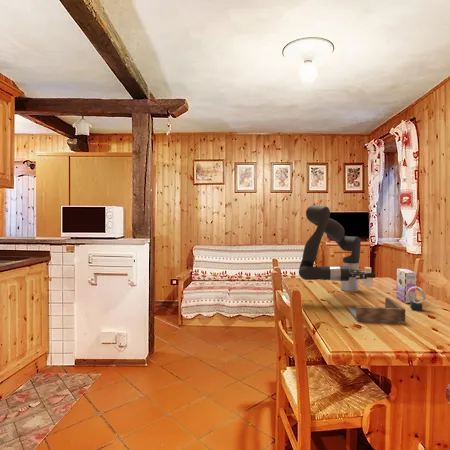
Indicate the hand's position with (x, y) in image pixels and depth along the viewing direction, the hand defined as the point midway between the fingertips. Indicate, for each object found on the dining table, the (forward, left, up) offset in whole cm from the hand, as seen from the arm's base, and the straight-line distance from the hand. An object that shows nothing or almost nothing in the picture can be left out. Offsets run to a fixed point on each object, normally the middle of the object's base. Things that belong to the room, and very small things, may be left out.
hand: (373, 274), depth 162 cm
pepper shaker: (-2, -2, -6) cm, 7 cm away
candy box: (+8, +24, -16) cm, 30 cm away
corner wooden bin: (+6, -15, -16) cm, 23 cm away
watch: (+17, +10, -16) cm, 26 cm away
